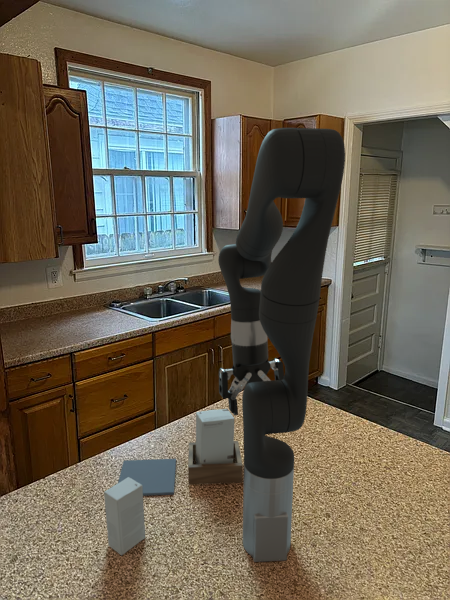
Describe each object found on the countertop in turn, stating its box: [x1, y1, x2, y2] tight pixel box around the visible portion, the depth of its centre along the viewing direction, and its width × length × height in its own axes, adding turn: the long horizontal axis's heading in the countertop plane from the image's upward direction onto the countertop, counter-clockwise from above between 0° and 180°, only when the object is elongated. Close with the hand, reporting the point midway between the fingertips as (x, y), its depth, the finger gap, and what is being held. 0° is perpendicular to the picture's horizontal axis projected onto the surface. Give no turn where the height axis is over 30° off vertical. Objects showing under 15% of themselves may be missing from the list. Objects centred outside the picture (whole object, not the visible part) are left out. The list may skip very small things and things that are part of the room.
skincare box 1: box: [103, 477, 146, 556], centre depth 86 cm, size 6×4×12 cm
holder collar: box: [187, 440, 244, 486], centre depth 109 cm, size 10×12×4 cm
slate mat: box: [117, 458, 177, 497], centre depth 106 cm, size 13×13×1 cm
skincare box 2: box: [195, 408, 235, 465], centre depth 108 cm, size 8×6×15 cm
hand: (253, 409), depth 98 cm, fingers open, 8 cm apart
